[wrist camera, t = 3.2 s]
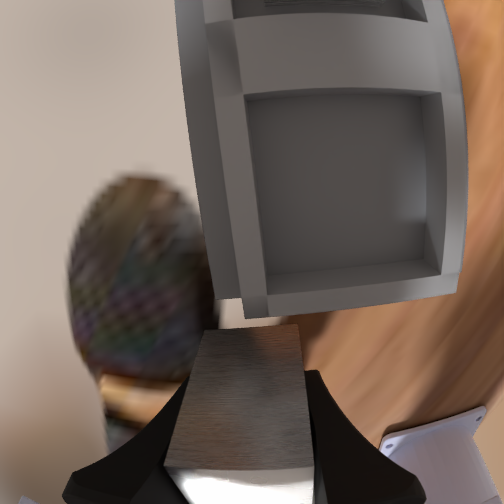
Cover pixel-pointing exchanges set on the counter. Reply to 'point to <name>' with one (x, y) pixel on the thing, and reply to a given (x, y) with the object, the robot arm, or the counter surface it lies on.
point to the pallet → (326, 151)
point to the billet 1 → (245, 421)
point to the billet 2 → (325, 2)
